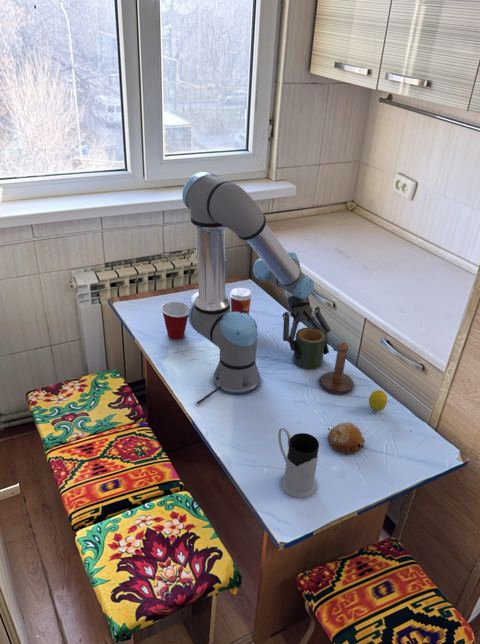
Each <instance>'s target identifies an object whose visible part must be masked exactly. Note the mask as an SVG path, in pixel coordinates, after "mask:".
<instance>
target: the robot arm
mask: <svg viewBox="0 0 480 644" xmlns="http://www.w3.org/2000/svg"><path fill="white" fill-rule="evenodd" d="M181 194H182V195H181V196H182V202H183V203H184V205H185V206H186V208H187V209H188V210H190V211H189V212H190V223H191V225H192V226H193V227H195V228H196V230H195V231H196V233H195V235H196V249H197V259H196V261H197V269H198V272H197V283H198V284H197V287H198V288H197V289H198V291H199V296H197V297H196V298H195V301H194V302H193V303H191V307H190V310H189V314H188V322H189V325H190V326H191V328H192V329H194V331H195V332H196V333H197V334H199V335H201V336H202V337H204V338H205V339H207V340H208V341H209V342H210V343H212V344H213V345H214V346H216V347H218V349H219V361H218V362H217V365H216V368H215V370H214V372H213V384H214V386H215V389H214V390H212V391H211V392H209V393H208V394H206V395H205V396H204V397H203V398H201V399H200V400H198V401H196V404H197V405H199V404H201V403H203V402H204V401H205V400H207V399H208V398H209V397H211V396H212V395H214V394H216V393H217V392H218V391H220V392H223V393H225V394H229V395H235V396H236V395H238V396H240V395H247V394H250V393H252V392H254V391H255V390H257V389H258V387H259V385H260V381H261V379H260V378H261V377H260V373H259V369H258V366H257V363H256V357H257V348H258V347H257V345H258V336H259V332H258V324H257V321H256V320H255V319H254V318H253V317H252V315H250V314H249V315H248V314H245V313H240V312H231V298H230V297H229V296H227V295H226V228H227V229H228V230H230V231H232V232H233V233H234V234H235V235H236V236H237V237H238V238H239V239H240V240H242V241H245V242H247V244H248V245H249V246H250V248H251V249H252V250H253V251H254V253H256V255H257V256H258V257H259V258H257V259H256V260H255V262H254V264H253V267H252V271H253V276H254V278H255V279H257V280H259V281H263V282H265V281H266V282H269V283H271V284H273V285H275V286H276V287H278V288H280V289H282V290H284V293H285V297H286V298H287V300H286V301H287V306H288V309H289V311H285V312H283V313H282V319H283V328H282V329H283V331H282V332H283V333H282V341H284V342H287V343H288V344H289V346H290V350H291V351H292V352H293V355H294V354H295V358H296V360H298V359H300V358H301V356H300V352H299V348H298V344H297V340H295V338H296V333H297V331H298V326H299V323H302V322H307V323H309V325H311V326H312V328H316V329H319V330H321V331H322V332H324V333H325V336H326V340H325V347H324V354H323V355H327V354H329V353H330V350H329V347H328V344H329V338H328V333H331V332H332V331H331V328H330V325H329V324H328V323H327V322H326V319H325V318H324V316H323V314H322V312H321V309H320V306H316V307H313V308H312V307H311V301H310V298H309V296H311V294H312V293H313V291H314V289H315V283H314V280H313V279H312V278H311V277H309V275H306V274H304V273H303V272H302V268H301V262H300V261H299V258H298V254H296V252H294V251H290V252H287V250H286V249H285V248H284V246H283V245H282V243H281V242H280V240H279V238H277V236H276V235H275V234H274V232H273V231H272V229H271V228H270V227H269V225H268V224H267V223H268V222H267V217H266V216H265V215H266V214H264V212H263V211H262V210H261V208H260V207H259V206H258V204H257V203H256V202H255V200H253V198H252V197H251V196H250V194H249V193H247V191H246V190H245V189H243V188H242V186H240V185H238V184H236V183H233V182H231V181H229V180H227V179H224V178H221V177H219V176H217V175H216V174H214V173H209V172H206V171H201V172H197V173H195V174H193V175H191V176H190V177H189V178H188V181H186V182H185V184H184V186H183V189H182V193H181ZM291 317H292V319H293V320H292V325H291V329H290V319H291ZM315 318H316V319H315Z"/></svg>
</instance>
